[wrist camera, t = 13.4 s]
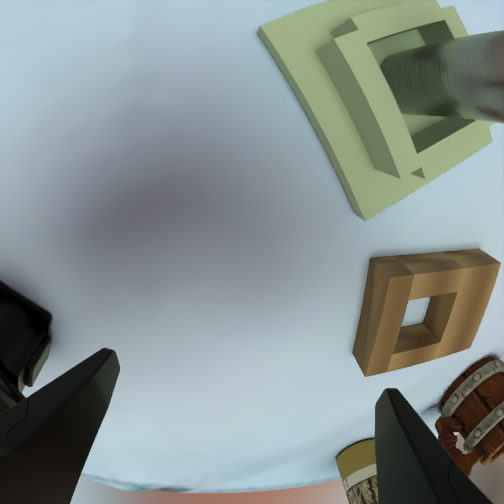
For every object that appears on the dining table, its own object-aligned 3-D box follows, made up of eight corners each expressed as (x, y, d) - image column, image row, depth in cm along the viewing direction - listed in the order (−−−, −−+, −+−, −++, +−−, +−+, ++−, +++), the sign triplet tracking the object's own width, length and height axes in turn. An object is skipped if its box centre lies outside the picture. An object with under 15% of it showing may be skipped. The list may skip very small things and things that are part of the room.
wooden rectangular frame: (352, 353, 24) (364, 377, 22) (370, 257, 21) (389, 277, 18) (454, 330, 25) (470, 347, 23) (479, 248, 22) (500, 262, 19)
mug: (491, 390, 33) (523, 461, 20) (415, 419, 35) (437, 503, 22) (512, 339, 28) (561, 417, 15) (427, 371, 31) (465, 473, 17)
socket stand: (355, 214, 19) (388, 238, 15) (257, 33, 14) (269, 7, 10) (480, 138, 18) (520, 147, 14) (412, -14, 13) (448, -32, 9)
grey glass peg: (376, 108, 15) (613, 136, 2) (378, 46, 14) (592, 4, 1) (428, 120, 16) (631, 167, 3) (429, 63, 14) (625, 63, 1)
